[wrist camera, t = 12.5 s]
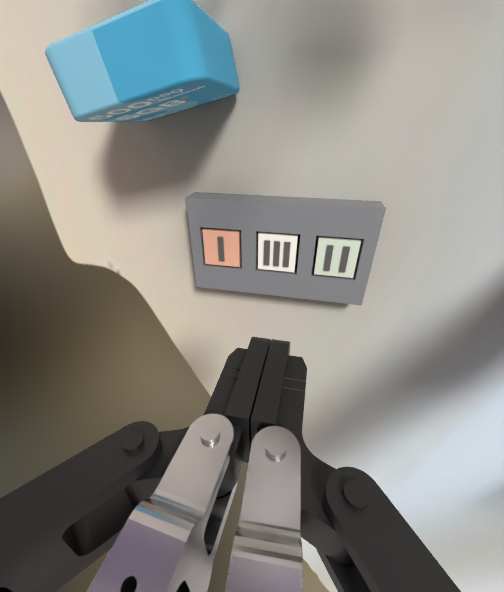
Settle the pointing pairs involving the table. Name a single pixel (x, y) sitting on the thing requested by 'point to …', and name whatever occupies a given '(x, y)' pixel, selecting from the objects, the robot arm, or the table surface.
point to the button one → (222, 247)
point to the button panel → (292, 220)
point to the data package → (145, 63)
